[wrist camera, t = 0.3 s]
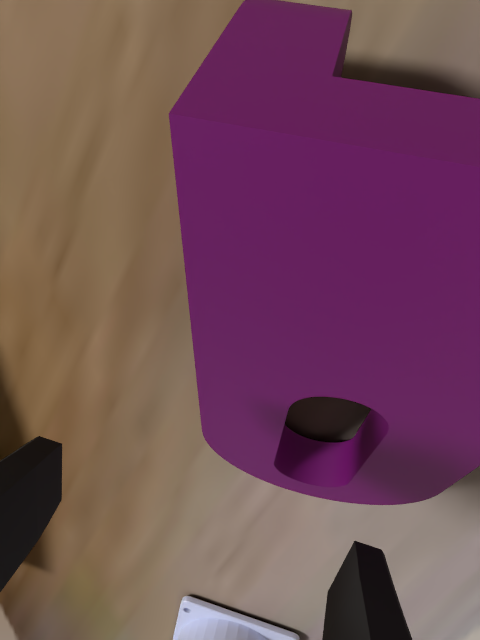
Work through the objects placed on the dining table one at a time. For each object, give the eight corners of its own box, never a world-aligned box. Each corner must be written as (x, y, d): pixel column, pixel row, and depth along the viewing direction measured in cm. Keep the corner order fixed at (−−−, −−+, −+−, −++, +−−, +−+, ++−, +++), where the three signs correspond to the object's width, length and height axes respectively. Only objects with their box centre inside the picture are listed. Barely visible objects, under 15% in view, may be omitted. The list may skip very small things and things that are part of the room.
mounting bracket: (407, 366, 26) (655, -3, 11) (400, 520, 21) (826, 226, 6) (246, 329, 27) (276, -50, 12) (204, 466, 22) (168, 111, 7)
